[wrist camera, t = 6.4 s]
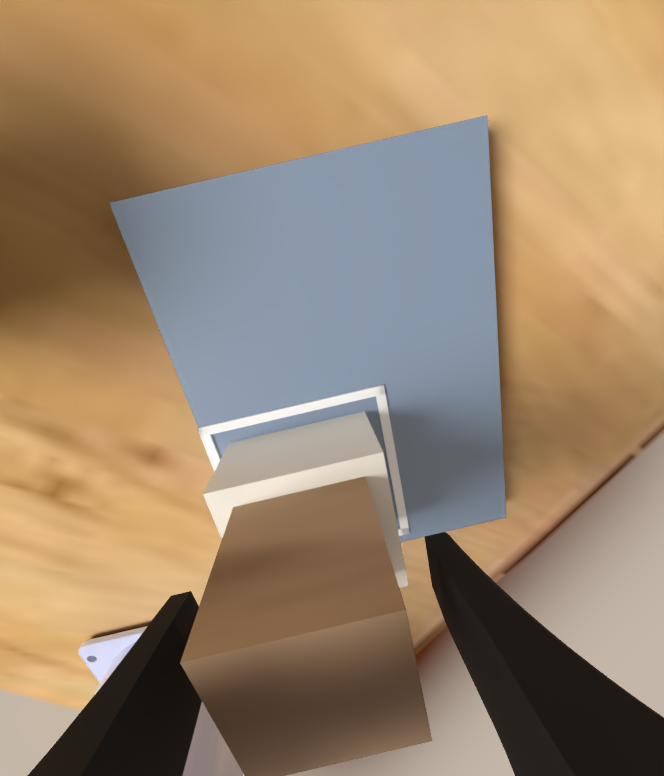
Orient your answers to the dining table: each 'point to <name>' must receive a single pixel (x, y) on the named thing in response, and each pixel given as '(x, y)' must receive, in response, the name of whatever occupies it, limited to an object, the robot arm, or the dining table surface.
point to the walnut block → (306, 636)
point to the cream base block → (306, 472)
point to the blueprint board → (342, 309)
